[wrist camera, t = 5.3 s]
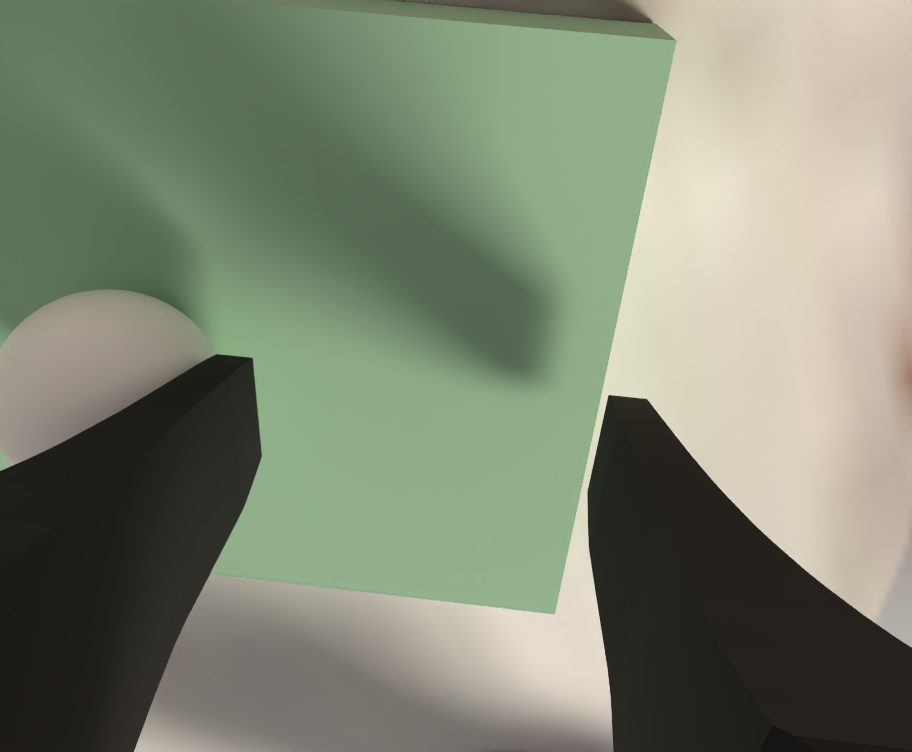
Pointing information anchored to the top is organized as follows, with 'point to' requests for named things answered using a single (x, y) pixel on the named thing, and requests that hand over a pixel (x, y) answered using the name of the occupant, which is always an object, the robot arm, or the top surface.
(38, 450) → the ball
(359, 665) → the top surface
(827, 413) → the top surface
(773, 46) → the top surface
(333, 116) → the green holed board
